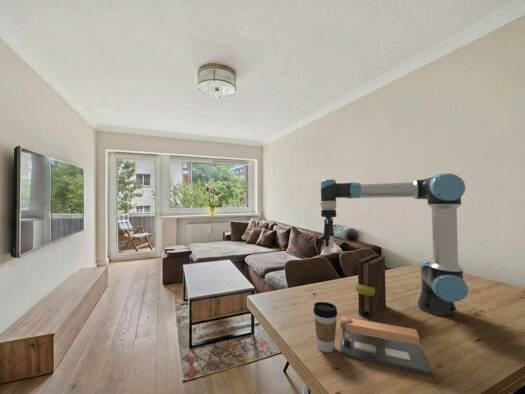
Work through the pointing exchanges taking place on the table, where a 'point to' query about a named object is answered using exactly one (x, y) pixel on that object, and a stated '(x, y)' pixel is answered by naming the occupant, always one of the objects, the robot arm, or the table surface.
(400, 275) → the table surface
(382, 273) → the book
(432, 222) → the robot arm
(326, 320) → the coffee cup
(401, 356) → the plate
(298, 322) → the table surface
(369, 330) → the cable arm
